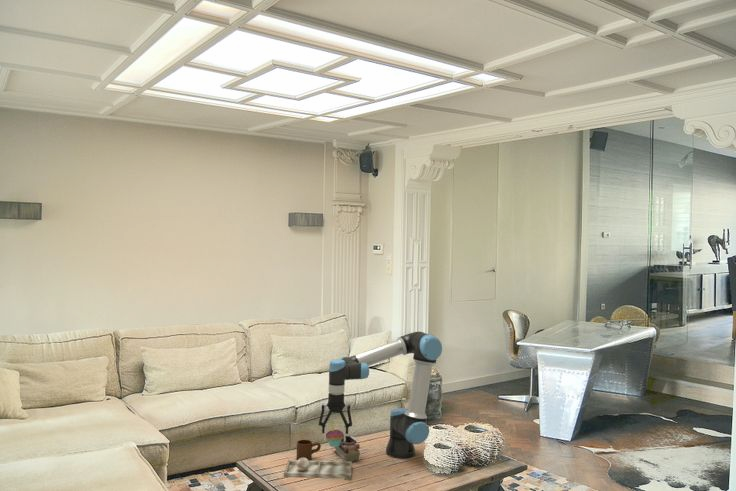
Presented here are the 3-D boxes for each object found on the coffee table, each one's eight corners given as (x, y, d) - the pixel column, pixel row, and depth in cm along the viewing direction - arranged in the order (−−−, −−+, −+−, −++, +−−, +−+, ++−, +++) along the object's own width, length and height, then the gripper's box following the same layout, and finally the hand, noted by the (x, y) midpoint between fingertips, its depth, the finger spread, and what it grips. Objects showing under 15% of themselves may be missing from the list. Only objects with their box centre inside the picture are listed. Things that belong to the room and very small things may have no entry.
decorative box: (335, 465, 300) (335, 445, 300) (324, 451, 319) (325, 432, 319) (360, 462, 305) (361, 443, 304) (349, 448, 323) (349, 430, 323)
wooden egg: (309, 468, 293) (309, 455, 293) (308, 473, 287) (308, 460, 287) (297, 467, 293) (297, 455, 293) (295, 472, 287) (296, 460, 287)
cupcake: (330, 449, 284) (330, 423, 284) (322, 443, 292) (323, 418, 292) (346, 446, 288) (347, 421, 288) (339, 441, 296) (339, 416, 296)
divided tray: (351, 466, 298) (351, 461, 298) (350, 479, 283) (351, 474, 282) (287, 465, 298) (287, 460, 298) (283, 478, 282) (283, 473, 282)
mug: (319, 457, 310) (320, 439, 310) (321, 463, 302) (321, 444, 302) (296, 458, 308) (296, 439, 308) (296, 463, 300) (297, 444, 300)
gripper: (358, 391, 294) (357, 438, 294) (314, 390, 293) (313, 437, 294) (358, 395, 286) (357, 443, 287) (313, 394, 286) (311, 442, 286)
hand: (334, 440), depth 290 cm, fingers closed on cupcake, 8 cm apart
